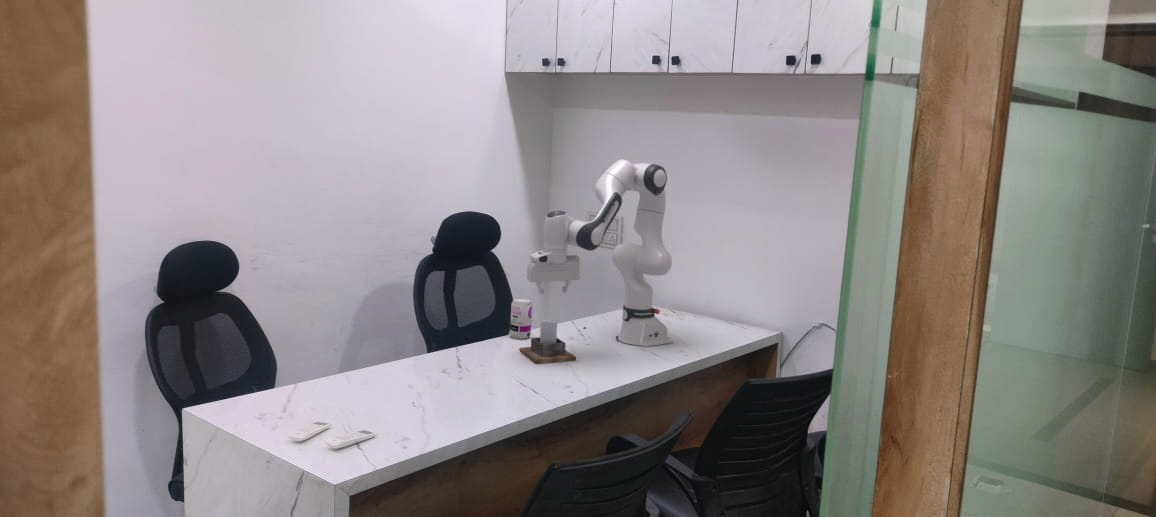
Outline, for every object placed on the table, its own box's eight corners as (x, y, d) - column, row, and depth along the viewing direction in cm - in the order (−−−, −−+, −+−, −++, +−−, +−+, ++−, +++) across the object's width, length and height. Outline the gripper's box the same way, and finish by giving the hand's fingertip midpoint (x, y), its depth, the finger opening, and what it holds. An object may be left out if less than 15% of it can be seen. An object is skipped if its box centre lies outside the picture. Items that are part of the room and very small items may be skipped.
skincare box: (555, 351, 295) (557, 319, 293) (555, 354, 291) (557, 322, 289) (538, 350, 295) (540, 319, 293) (539, 353, 290) (540, 321, 288)
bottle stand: (558, 348, 304) (558, 333, 303) (576, 360, 289) (577, 345, 288) (519, 351, 297) (520, 336, 296) (535, 364, 282) (536, 347, 281)
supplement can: (531, 335, 320) (533, 299, 318) (528, 340, 312) (530, 303, 310) (512, 333, 321) (513, 297, 319) (508, 338, 313) (510, 301, 311)
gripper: (576, 253, 296) (574, 289, 298) (525, 255, 287) (524, 292, 289) (583, 256, 290) (582, 293, 293) (532, 258, 281) (530, 296, 284)
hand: (552, 292), depth 291 cm, fingers open, 8 cm apart
